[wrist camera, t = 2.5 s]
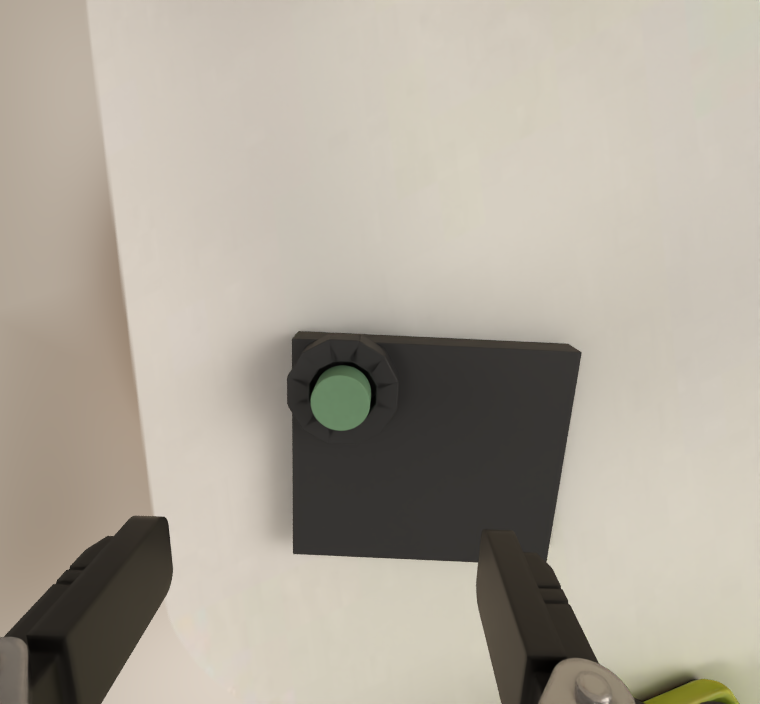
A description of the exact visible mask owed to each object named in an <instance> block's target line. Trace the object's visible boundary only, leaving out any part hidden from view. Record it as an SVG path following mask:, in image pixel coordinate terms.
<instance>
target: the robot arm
mask: <svg viewBox="0 0 760 704" xmlns="http://www.w3.org/2000/svg"><path fill="white" fill-rule="evenodd" d="M172 574H173V565H172V555H171V545H170V535H169V525H168V521H167V519H166V518H165V517H157V516H133V517H131V518H130V519H129V520H128V521H127V522H126V523H125V524H124V525H123V526H122V528H121V529H120V530H119V531H118V532H117V533H116V534H115V536H107V537H105V538H104V539H102V540H100V541H99V542H97V543H96V544H94V545H92V546H91V547H89V548H88V549H86V550H85V551H84V552H83V553H82V554H81V555H80V556H79V557H78V558H77V560H76V561H75V562H74V563H73V564H72V565H71V566H70V569H69V570H66V571H65V572H64V573H63V575H62V576H61V577H60V578H59V579H58V580H57V583H56V584H53V585H52V586H51V587H50V588H49V589H48V590H47V592H46V593H45V594H44V595H43V596H42V597H41V598H40V599H39V600H38V601H37V602H36V603H35V604H34V605H33V606H32V607H31V609H30V610H29V611H28V612H27V613H26V614H25V615H24V616H23V617H22V618H21V619H20V620H19V621H18V622H17V623H16V625H15V626H14V627H13V628H12V629H11V630H10V631H9V632H8V633H7V634H6V635H5V636H4V637H1V638H0V704H101V703H102V701H103V699H104V698H105V696H106V695H107V693H108V691H109V690H110V688H111V686H112V685H113V683H114V681H115V680H116V678H117V676H118V675H119V673H120V671H121V670H122V668H123V666H124V665H125V663H126V661H127V660H128V658H129V656H130V655H131V653H132V651H133V650H134V648H135V647H136V645H137V643H138V642H139V640H140V638H141V636H142V635H143V633H144V631H145V630H146V628H147V627H148V625H149V623H150V622H151V620H152V618H153V617H154V615H155V613H156V611H157V610H158V608H159V607H160V605H161V603H162V601H163V600H164V598H165V597H166V595H167V593H168V590H169V588H170V584H171V580H172ZM476 593H477V603H478V609H479V613H480V617H481V621H482V625H483V629H484V633H485V637H486V642H487V646H488V650H489V654H490V658H491V662H492V666H493V670H494V674H495V678H496V683H497V687H498V691H499V695H500V699H501V703H502V704H645V703H643V702H641V701H639V700H637V699H635V698H633V696H632V694H631V692H630V691H629V689H628V688H627V686H626V685H625V684H624V683H623V682H622V681H621V680H620V679H619V678H618V677H617V676H616V675H615V674H614V673H613V672H611V671H610V670H609V669H607V668H605V667H604V666H602V665H600V664H599V663H598V661H597V659H596V657H595V655H594V653H593V651H592V649H591V647H590V645H589V643H588V640H587V638H586V636H585V634H584V632H583V630H582V628H581V626H580V624H579V622H578V620H577V618H576V616H575V614H574V612H573V610H572V608H571V606H570V605H569V604H568V600H567V598H566V596H565V594H564V592H563V589H561V585H560V583H559V581H558V579H557V577H556V575H555V573H554V571H553V569H552V568H551V567H550V566H549V565H548V564H547V563H546V562H545V561H544V560H543V559H542V558H541V557H540V556H539V555H538V554H537V553H532V552H523V551H522V548H521V546H520V544H519V541H518V539H517V537H516V534H515V532H514V531H513V530H491V529H483V531H482V534H481V541H480V551H479V560H478V570H477V580H476ZM700 704H725V703H721V702H716V701H706V702H702V703H700Z"/></svg>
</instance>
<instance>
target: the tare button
mask: <svg viewBox="0 0 760 704" xmlns="http://www.w3.org/2000/svg"><path fill="white" fill-rule="evenodd" d="M370 401H371V387H370V384H369V381H368V379H367V378H366V376H365V375H364V374H363V373H362V372H361V371H359V370H358V369H356V368H354V367H351V366H345V365H340V366H334V367H332V368H329V369H328V370H326V371H325V372H324V373H323V374H322V375H321V376H320V377H319V379H318V381H317V383H316V385H315V387H314V390H313V392H312V395H311V409H312V412H313V414H314V416H315V417H316V419H317V420H318V421H319V422H320V423H321V424H322V425H324V426H325V427H327V428H329V429H332V430H338V431H344V430H350V429H352V428H355V427H357V426H358V425H360V424H361V423H362V422H363V421H364V420H365V418H366V417H367V415H368V413H369V409H370Z"/></svg>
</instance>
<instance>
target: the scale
mask: <svg viewBox="0 0 760 704" xmlns="http://www.w3.org/2000/svg"><path fill="white" fill-rule="evenodd" d="M580 359H581V352H580V351H579V350H577V349H575V348H574V347H572V346H571V345H569V344H558V343H537V342H515V341H494V340H473V339H452V338H430V337H409V336H388V335H367V334H347V333H324V332H303V331H299V332H298V333H297V334H296V335H295V336H294V337H293V339H292V370H291V372H290V373H289V375H288V378H287V404H288V406H289V408H290V410H291V411H292V429H293V554H307V555H329V556H351V557H373V558H395V559H417V560H439V561H461V562H478V560H479V551H480V541H481V534H482V531H483V529H491V530H513V531H514V532H515V534H516V537H517V539H518V541H519V544H520V546H521V548H522V551H523V552H532V553H537V554H538V555H539V556H540V557H541V558H542V559H543V560H544V561H545V562H546V561H547V555H548V549H549V543H550V537H551V531H552V525H553V520H554V514H555V508H556V502H557V496H558V490H559V484H560V478H561V472H562V466H563V460H564V454H565V448H566V442H567V436H568V430H569V424H570V418H571V412H572V407H573V401H574V395H575V389H576V383H577V377H578V371H579V365H580ZM340 365H345V366H351V367H354V368H356V369H358V370H359V371H361V372H362V373H363V374H364V375H365V376H366V378H367V379H368V381H369V384H370V387H371V401H370V409H369V413H368V415H367V417H366V418H365V420H364V421H363V422H362V423H361V424H360V425H358V426H357V427H355V428H352V429H350V430H344V431H338V430H332V429H329V428H327V427H325V426H324V425H322V424H321V423H320V422H319V421H318V420H317V419H316V417H315V416H314V414H313V412H312V409H311V395H312V392H313V390H314V387H315V385H316V383H317V381H318V379H319V377H320V376H321V375H322V374H323V373H324V372H325V371H326V370H328V369H329V368H332V367H334V366H340Z"/></svg>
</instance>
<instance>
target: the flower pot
mask: <svg viewBox="0 0 760 704" xmlns="http://www.w3.org/2000/svg"><path fill="white" fill-rule="evenodd" d="M706 701H716V702H721V703H725V704H739V702H738V701H737V699H736V698H735V696H734V695H733V693H732V692H731V691H730V689H729V688H728V687H726V686H725V685H723V684H722V683H720V682H717V681H714V680H708V679H699V680H692V681H690V682H689V683H687V684H685V685H682V686H680V687H678V688H675V689H673V690H670V691H668V692H666V693H663V694H661V695H658V696H656V697H654V698H651V699H649V700H647V701H644V702H643V703H645V704H700V703H702V702H706Z"/></svg>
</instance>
